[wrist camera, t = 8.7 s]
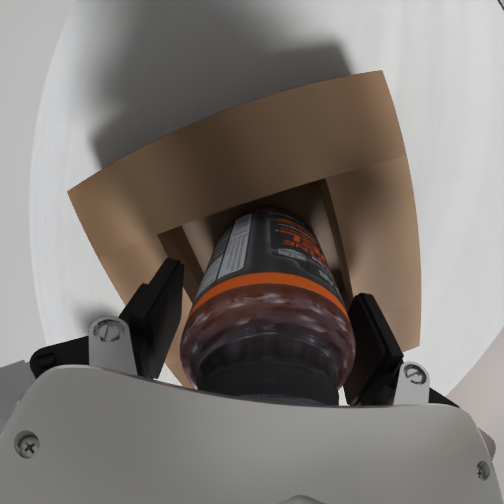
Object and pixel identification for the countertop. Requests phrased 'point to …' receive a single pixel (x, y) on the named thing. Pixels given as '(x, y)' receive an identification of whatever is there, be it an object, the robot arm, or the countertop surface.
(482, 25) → the countertop surface
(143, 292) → the robot arm
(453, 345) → the countertop surface
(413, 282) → the socket block
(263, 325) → the supplement bottle
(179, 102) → the countertop surface
